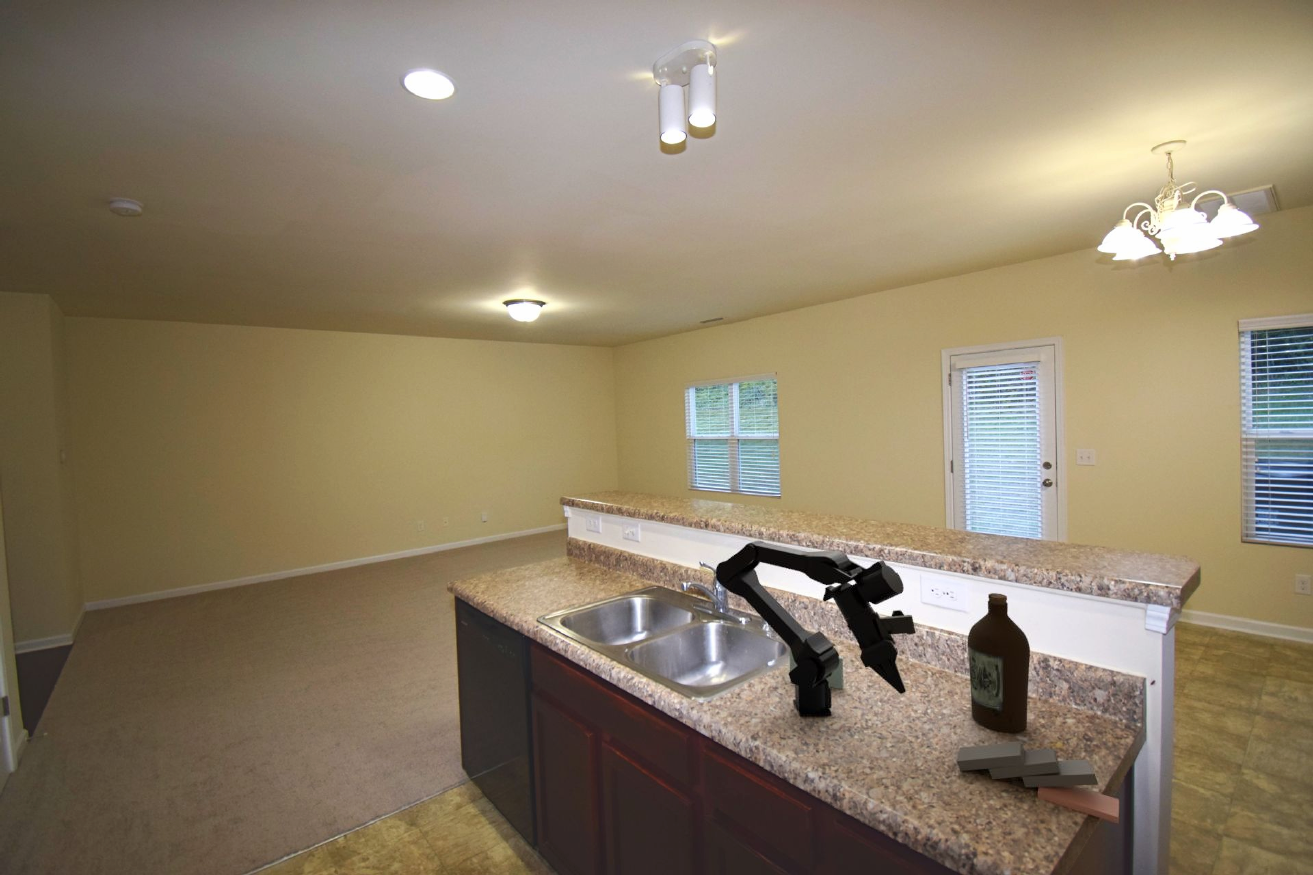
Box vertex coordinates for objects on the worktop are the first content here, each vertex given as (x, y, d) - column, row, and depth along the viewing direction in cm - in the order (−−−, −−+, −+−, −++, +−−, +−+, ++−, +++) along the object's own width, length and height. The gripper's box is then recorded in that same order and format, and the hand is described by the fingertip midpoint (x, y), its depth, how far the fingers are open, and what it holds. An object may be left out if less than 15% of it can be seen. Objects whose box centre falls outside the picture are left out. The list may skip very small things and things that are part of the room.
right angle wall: (842, 691, 131) (842, 658, 131) (790, 680, 137) (789, 649, 137) (854, 671, 141) (854, 640, 141) (805, 661, 147) (804, 632, 147)
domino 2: (988, 769, 97) (1056, 761, 93) (988, 755, 102) (1052, 747, 97) (992, 779, 97) (1060, 771, 92) (992, 764, 101) (1057, 757, 97)
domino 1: (956, 760, 100) (1020, 754, 95) (959, 747, 104) (1020, 741, 99) (960, 770, 100) (1024, 765, 95) (963, 756, 104) (1025, 750, 99)
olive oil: (991, 703, 123) (990, 584, 122) (1043, 726, 113) (1042, 598, 113) (956, 715, 118) (955, 592, 118) (1006, 740, 109) (1005, 607, 108)
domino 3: (1022, 776, 95) (1094, 773, 91) (1018, 762, 99) (1087, 759, 95) (1025, 787, 94) (1098, 784, 90) (1021, 772, 99) (1090, 769, 95)
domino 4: (1037, 791, 93) (1118, 817, 86) (1041, 775, 96) (1119, 799, 90) (1037, 801, 93) (1118, 827, 86) (1041, 785, 97) (1119, 809, 90)
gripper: (897, 596, 104) (949, 683, 99) (895, 593, 121) (939, 667, 116) (840, 623, 107) (888, 709, 101) (846, 617, 124) (887, 690, 118)
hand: (903, 692), depth 109 cm, fingers closed
